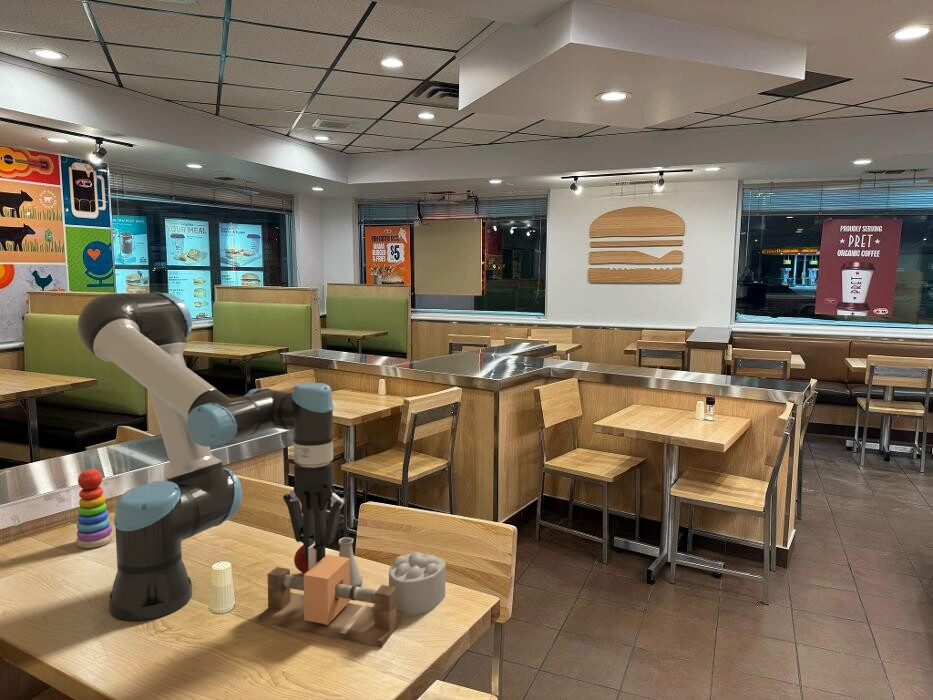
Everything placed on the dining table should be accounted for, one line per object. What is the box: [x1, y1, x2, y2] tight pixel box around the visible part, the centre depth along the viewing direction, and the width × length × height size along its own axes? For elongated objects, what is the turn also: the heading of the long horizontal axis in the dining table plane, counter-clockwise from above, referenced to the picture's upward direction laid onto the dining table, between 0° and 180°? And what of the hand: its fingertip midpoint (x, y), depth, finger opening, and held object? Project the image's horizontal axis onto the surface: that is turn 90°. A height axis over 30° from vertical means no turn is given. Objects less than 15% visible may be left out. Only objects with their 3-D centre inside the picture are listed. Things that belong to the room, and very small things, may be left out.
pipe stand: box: [257, 566, 404, 648], centre depth 120 cm, size 26×10×8 cm, turn 74°
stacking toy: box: [75, 468, 114, 549], centre depth 152 cm, size 8×8×19 cm
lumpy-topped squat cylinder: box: [388, 551, 447, 617], centre depth 129 cm, size 10×13×9 cm
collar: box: [303, 554, 351, 625], centre depth 120 cm, size 5×9×9 cm, turn 164°
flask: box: [338, 536, 363, 587], centre depth 135 cm, size 7×7×10 cm
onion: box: [293, 544, 309, 575], centre depth 139 cm, size 6×6×8 cm
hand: (315, 576), depth 125 cm, fingers closed
